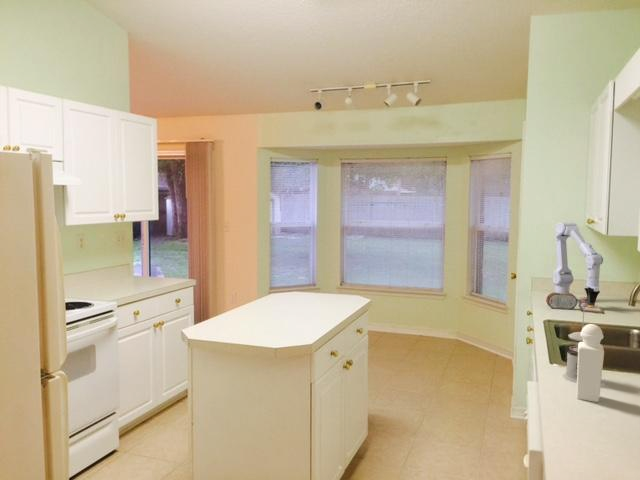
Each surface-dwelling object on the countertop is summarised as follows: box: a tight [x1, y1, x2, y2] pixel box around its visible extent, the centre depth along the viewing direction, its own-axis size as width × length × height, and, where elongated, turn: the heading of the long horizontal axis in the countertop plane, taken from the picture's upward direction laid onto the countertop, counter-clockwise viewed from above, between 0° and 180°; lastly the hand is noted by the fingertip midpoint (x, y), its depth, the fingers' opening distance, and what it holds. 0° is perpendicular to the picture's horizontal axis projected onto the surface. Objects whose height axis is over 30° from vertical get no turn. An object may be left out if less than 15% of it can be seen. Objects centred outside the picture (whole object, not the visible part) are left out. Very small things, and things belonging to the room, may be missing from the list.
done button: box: [579, 296, 588, 302], centre depth 274 cm, size 4×4×3 cm
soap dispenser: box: [576, 323, 605, 403], centre depth 149 cm, size 6×6×22 cm
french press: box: [562, 303, 588, 384], centre depth 164 cm, size 10×12×25 cm
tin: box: [545, 291, 578, 310], centre depth 266 cm, size 15×3×8 cm, turn 84°
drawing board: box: [579, 305, 604, 315], centre depth 265 cm, size 12×10×1 cm
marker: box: [588, 295, 596, 308], centre depth 267 cm, size 3×3×9 cm
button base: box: [578, 298, 588, 308], centre depth 274 cm, size 5×5×3 cm
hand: (591, 302), depth 268 cm, fingers closed on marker, 3 cm apart
